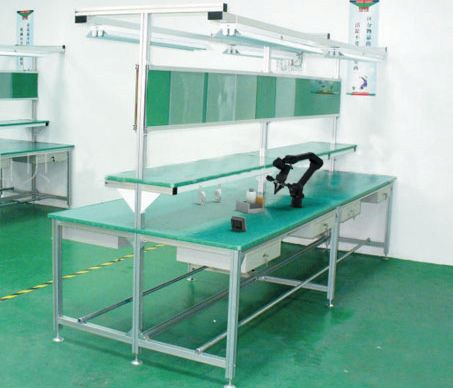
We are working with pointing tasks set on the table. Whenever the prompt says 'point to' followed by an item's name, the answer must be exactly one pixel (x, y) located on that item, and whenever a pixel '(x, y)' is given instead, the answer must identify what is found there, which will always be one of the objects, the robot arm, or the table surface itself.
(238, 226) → the electrical switch
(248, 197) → the bottle
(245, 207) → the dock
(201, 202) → the headset
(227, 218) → the table surface
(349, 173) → the table surface
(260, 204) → the grey and tan box
